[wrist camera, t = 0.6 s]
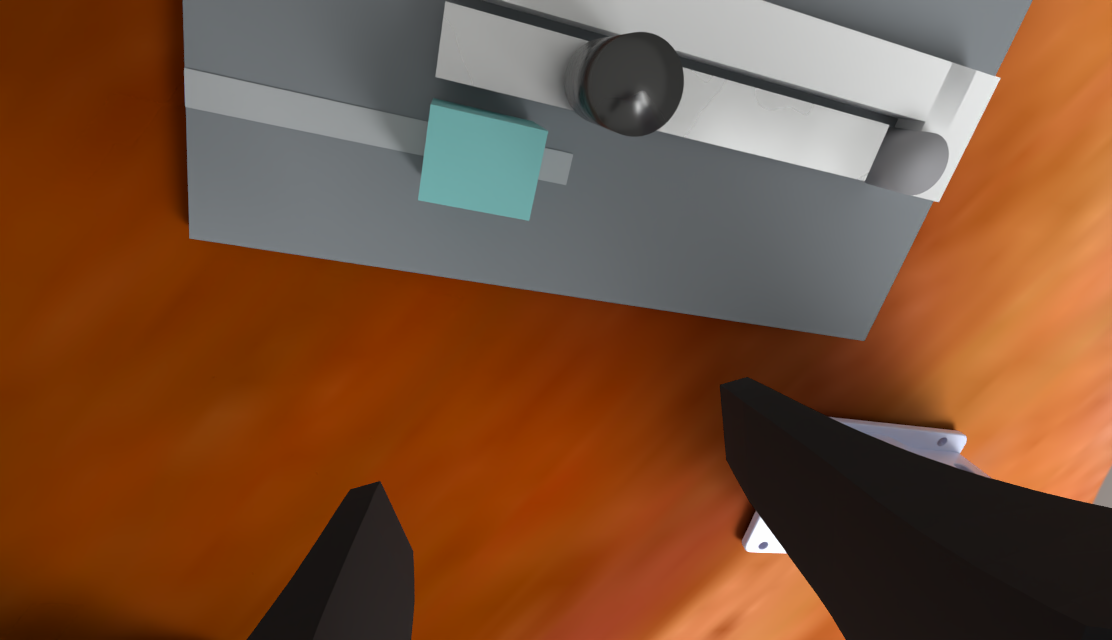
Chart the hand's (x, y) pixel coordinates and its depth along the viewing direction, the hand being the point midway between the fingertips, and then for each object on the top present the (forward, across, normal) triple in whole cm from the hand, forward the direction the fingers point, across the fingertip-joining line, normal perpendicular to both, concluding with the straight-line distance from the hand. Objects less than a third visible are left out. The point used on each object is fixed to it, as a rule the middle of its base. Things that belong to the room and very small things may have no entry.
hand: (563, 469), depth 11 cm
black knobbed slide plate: (+9, -6, -5) cm, 12 cm away
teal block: (+10, 0, -5) cm, 11 cm away
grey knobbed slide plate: (+10, -6, -6) cm, 13 cm away
